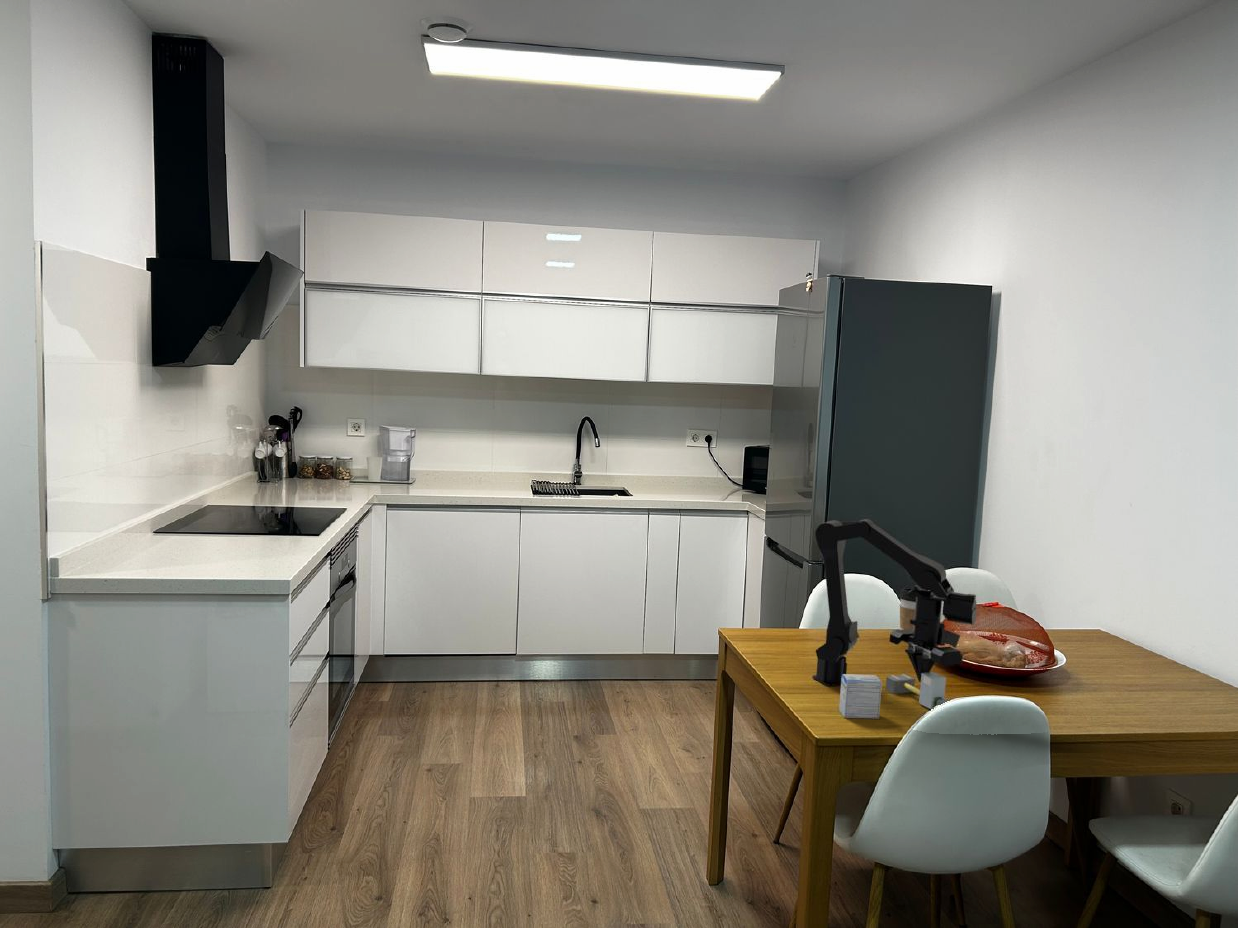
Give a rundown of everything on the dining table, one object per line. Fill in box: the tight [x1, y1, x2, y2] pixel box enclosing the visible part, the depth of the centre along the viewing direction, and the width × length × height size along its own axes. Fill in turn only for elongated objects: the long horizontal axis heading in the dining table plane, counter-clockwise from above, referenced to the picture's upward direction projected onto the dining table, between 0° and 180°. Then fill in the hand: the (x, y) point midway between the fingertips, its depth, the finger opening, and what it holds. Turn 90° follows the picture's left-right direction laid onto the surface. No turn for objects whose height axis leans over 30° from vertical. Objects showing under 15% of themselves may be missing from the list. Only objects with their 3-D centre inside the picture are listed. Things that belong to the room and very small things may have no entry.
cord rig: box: [885, 673, 951, 705], centre depth 215 cm, size 6×19×4 cm, turn 22°
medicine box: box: [838, 673, 883, 720], centre depth 204 cm, size 8×4×9 cm, turn 92°
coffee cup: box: [898, 587, 916, 643], centre depth 266 cm, size 8×8×15 cm
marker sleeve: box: [918, 671, 947, 710], centre depth 212 cm, size 4×4×7 cm
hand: (921, 682), depth 215 cm, fingers closed
